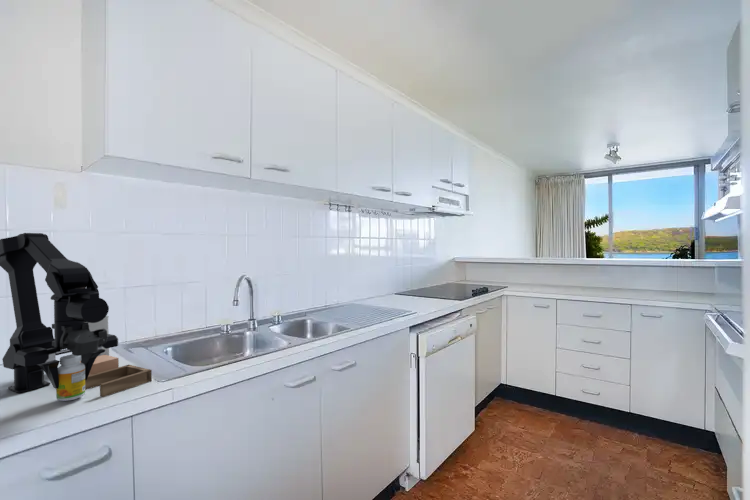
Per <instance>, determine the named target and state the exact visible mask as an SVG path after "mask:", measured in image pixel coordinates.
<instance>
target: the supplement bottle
mask: <svg viewBox="0 0 750 500" xmlns="http://www.w3.org/2000/svg"><path fill="white" fill-rule="evenodd" d="M59 361H60V362H59V365H60V366H58V377H59V387H58V388H57V389H55V391H56V393H55V395H56V397H55V398H56V400H57V401H59V402H65V401H72V400H76V399H80V398H82V397H83V396H85V395H86V390H85V365H84V364H83V363H80V361H81V355H80V356H76V355H73V354H72V353H71V354H66V355H63V356H61V357H60V358H59Z"/></svg>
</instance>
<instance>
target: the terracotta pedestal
mask: <svg viewBox="0 0 750 500" xmlns="http://www.w3.org/2000/svg"><path fill="white" fill-rule="evenodd" d="M80 363H81V361H80ZM119 363H120V362H119V357H116V356H111V355H109V356H108V355H101V356H98V357H97V358H96V359H95V361H94V363H93V366H92V368H91V370H90V373H89V375H93V374H96V373H100V372H104V371H107V370H111V369H115V368H118V367H120V366H119ZM89 375H88V376H89Z"/></svg>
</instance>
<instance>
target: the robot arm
mask: <svg viewBox="0 0 750 500" xmlns="http://www.w3.org/2000/svg"><path fill="white" fill-rule="evenodd" d="M49 239H50V238H49V236H48V235H47V234H45V233H43V232H42V233H41V232H23V233H20V234H18V235H14V236H9V237H5V238H0V267H1V268H2V269H3V270H4V271H5V272H6V273H7V274H8V280H9V286H10V293H11V300H12V305H13V311H14V318H15V326H16V328H15V330H14V332H13V333H12V335H11V336H10V338H9V347H8V348H7V350H6V352H5V354H4V356H3V357H2V358H1V359H2V364H3V365H2V366H3V368H5V369H10V370H13V385H10V386H8V387H7V390H9V391H12V392H14V393H18V394H20V393H25V392H28V391H33V390H36V389H39V388H43V387H46V386H50V385H52V386H53V388H54V389H55V390H56V389H57V388H58V387H59V377H58V367H59V365H60V360H57V359H56V356H59V355H63V354H69V353H71V354H73V355H76V356H80V355H81V363H83V364H84V365H85V380H87V378H88V375H89V373H90V370H91V368H92V366H93V363H94V361H95V359H96V358H97V357H98V356H99V355H100V354H101V353H103V352H105V350H104V349H102V347H104V348H106V349H107V348H109V349H110V348H115V347H118V346H119V338H118V337H117V335H116V334H111V333H109V334H107V330H105V329H99V330H95V331H90V330H89V325H88V322H89V323H96V322H99V321H101V320H103V319H104V318H105V317H106V315H108V314H109V309H110V307H109V305H108V303H107V301H106V300H105V299H103V298H101V297H100V293H99V291H100V290H99V289H98V288H99V286H98V285H97V283H96V281H95V280H94V278H93V275H92V274H91V272H90V270H89V269H88V267H86V266H85V265H83V264H81V263H80V262H78V261H74V260H70V259H68V258H67V257H66V256H65V255H64V254H63V253H62V252H61V251H60V250H59V249H58V248H57V247H56V246H55V245H54V244H53V243H52V242H51V241H50V240H49ZM37 264H38V265H39V266H40V267H41V268H42V269H43V270H44V272H45V273H46V276H45V279H44V282H45V283H46V285H47V287H48V288H49V289H50V291H51V292H52V293H53V294H52V295H51V297H50V300H51V301H52V300H53V313H54V315H53V316H54V317H53V318H54V320H53V321H54V322H53V323H52V324H51V326H46V325H45V324H44V323H43V322H42V318H41V317H42V316H41V310H40V304H39V299H38V293H37V286H36V281H35V275H34V269H35V267H36V265H37ZM53 330H54V331H53ZM45 375H46V377H47V378H48V380H49V381H50V382H49V381H46V380H45Z"/></svg>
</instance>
